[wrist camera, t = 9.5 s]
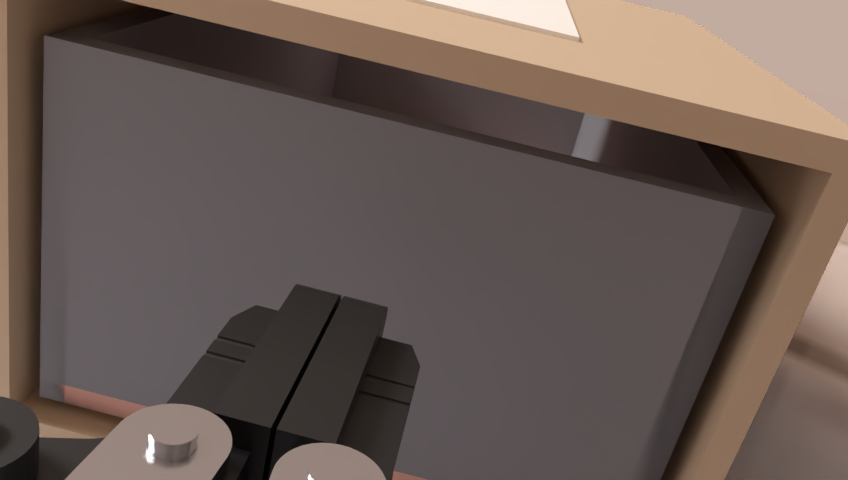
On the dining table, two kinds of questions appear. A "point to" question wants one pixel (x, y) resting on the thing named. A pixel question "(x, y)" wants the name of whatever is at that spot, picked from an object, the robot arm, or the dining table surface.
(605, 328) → the tray
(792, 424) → the dining table surface
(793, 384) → the dining table surface
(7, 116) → the mailer sleeve
